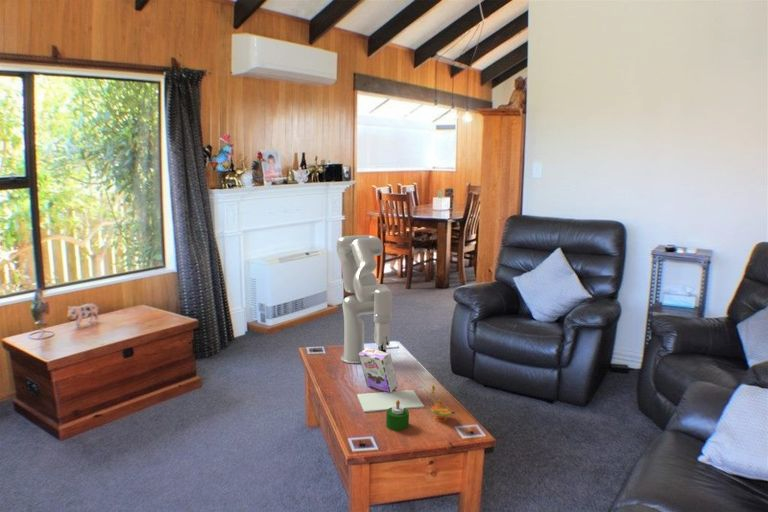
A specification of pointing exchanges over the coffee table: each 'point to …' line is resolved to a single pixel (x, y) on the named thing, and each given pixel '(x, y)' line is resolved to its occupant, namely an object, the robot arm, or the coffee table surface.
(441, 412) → the magic lamp
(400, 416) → the candle
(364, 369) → the candy box
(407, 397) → the mat
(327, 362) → the coffee table surface
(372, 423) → the coffee table surface
